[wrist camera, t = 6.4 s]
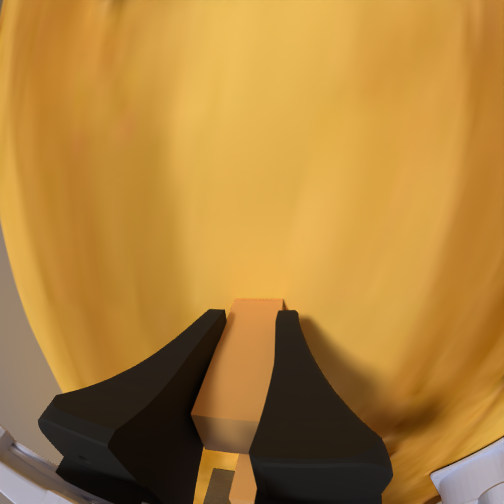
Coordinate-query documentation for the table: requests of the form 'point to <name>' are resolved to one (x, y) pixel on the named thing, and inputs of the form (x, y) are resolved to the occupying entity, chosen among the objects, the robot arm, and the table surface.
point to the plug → (238, 388)
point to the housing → (219, 487)
